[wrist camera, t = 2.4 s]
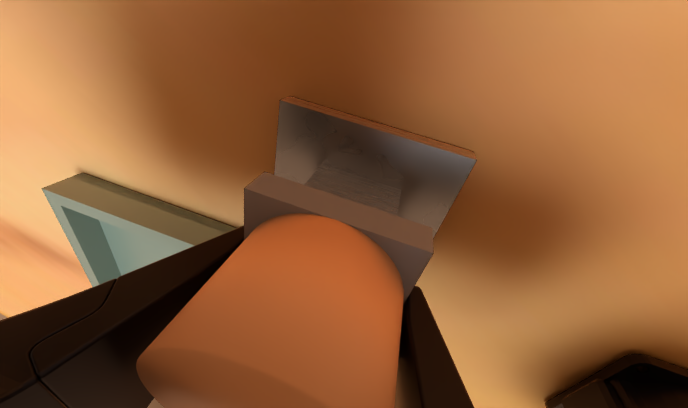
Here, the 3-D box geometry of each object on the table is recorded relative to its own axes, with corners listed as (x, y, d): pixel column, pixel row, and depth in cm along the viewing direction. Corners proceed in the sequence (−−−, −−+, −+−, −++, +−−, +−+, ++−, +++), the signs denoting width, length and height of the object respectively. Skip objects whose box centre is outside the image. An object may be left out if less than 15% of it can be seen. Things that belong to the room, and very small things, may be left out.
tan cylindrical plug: (432, 228, 7) (440, 444, 3) (379, 326, 10) (350, 506, 6) (264, 171, 7) (101, 305, 4) (259, 281, 10) (161, 421, 6)
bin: (263, 238, 14) (242, 263, 13) (257, 344, 21) (243, 370, 19) (82, 172, 15) (41, 188, 14) (130, 293, 22) (106, 313, 20)
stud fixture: (473, 151, 9) (497, 208, 6) (405, 278, 13) (398, 352, 10) (289, 96, 10) (227, 121, 7) (276, 232, 14) (233, 288, 11)
